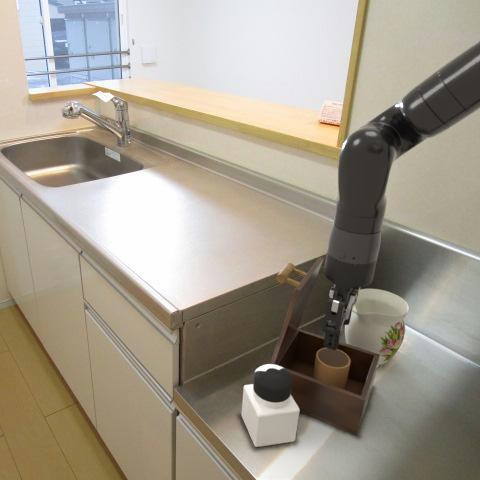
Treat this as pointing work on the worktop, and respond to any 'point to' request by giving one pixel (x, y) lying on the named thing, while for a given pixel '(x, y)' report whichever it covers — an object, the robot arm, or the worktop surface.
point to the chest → (325, 395)
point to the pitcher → (377, 323)
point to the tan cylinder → (332, 367)
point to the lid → (295, 302)
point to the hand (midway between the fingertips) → (336, 334)
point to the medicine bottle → (270, 407)
